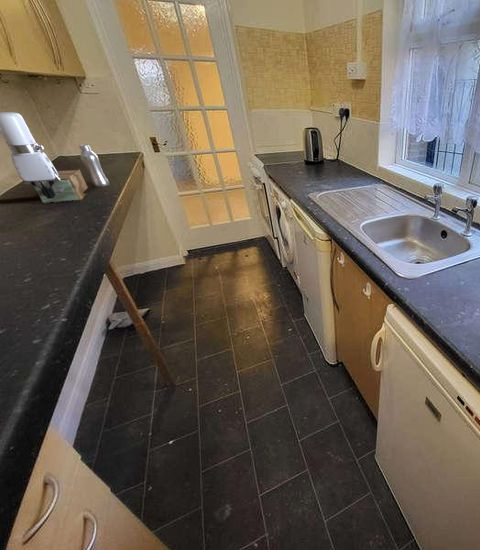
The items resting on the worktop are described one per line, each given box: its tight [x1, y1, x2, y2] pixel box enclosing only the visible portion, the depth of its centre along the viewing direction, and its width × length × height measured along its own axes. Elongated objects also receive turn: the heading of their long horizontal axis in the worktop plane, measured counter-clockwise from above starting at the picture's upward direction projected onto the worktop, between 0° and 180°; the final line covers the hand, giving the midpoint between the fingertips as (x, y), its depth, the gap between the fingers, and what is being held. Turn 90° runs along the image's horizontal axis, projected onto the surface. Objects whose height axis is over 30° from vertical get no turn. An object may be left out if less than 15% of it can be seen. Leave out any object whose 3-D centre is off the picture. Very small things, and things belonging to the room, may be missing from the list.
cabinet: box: [44, 169, 89, 204], centre depth 132 cm, size 15×13×10 cm
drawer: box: [32, 179, 78, 204], centre depth 128 cm, size 18×11×8 cm, turn 27°
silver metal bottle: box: [78, 144, 110, 188], centre depth 142 cm, size 6×7×20 cm
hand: (51, 197), depth 120 cm, fingers closed
